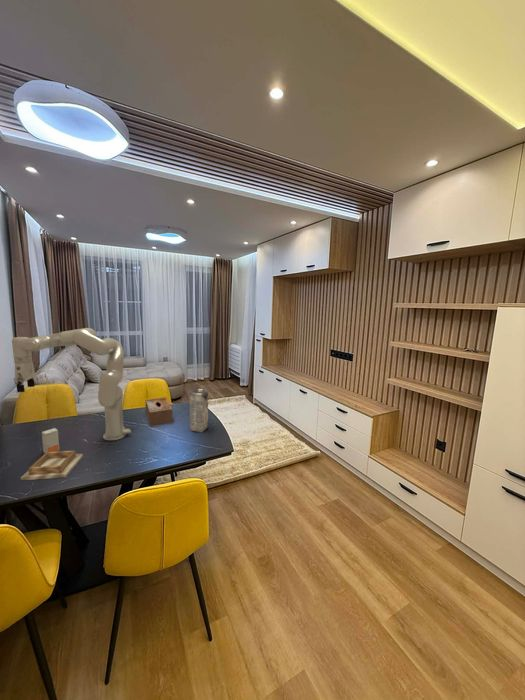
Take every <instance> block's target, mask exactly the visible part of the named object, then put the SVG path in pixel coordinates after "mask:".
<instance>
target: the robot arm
mask: <svg viewBox="0 0 525 700" xmlns="http://www.w3.org/2000/svg"><path fill="white" fill-rule="evenodd" d="M11 345H12V347H11V348H12V355H13V363H14V378H13V381H14V383H15V386H16V392H17V393H25V384H24V382H25V381H26V383H27V384H26V385H27V388H28V387H29V388H33V387H35V377H36V372H35V366H34V362H33V356H32V354H33V353H32V352H39V351H43V350H45V349H50V348H55V347H56V348H57V347H61V346H62V347H63V346H64V347H73V346H80V347H82V348H84V349H86V350H88V351H89V352H91V353H93V354H95V355H96V356H97V355H98V356H106V355H107V356H108V357H107V362H106V369H105V370H106V371H105V372H104V373H102V375H101V376H100V377H99V381H98V391H97V399H98V400H97V401H98V403H99V405H100V406H102V407H103V408H104V419H105V420H104V422H105V423H104V424H105V432H104V433H103V435H102V438H103V440H106V441H116V440H120V439H122V438H124V437H126V436H127V434H131V433H132V430H131V429H130V428H126V427H125V426H124V414H123V413H124V412H123V411H124V410H123V409H124V408H123V401H124V400H123V398H124V393H123V389H122V388H121V387H120V386H119V384H120V383H121V382H122V380H123V377H124V376H123V375H124V361H125V360H124V359H125V351H124V347H123V345H122V344H121V343H120V342H119V341H118V340H116V339H114V338H112V337H107V338H106V337H105V338H102V339H101V338H99V337H97V332H96V331H95V330H94V329H93V328H91V327H84V328H78V329H72V330H71V329H70V330H65V331H60V332H58V333H57V332H56V333H52V334H50V333H49V334H45V335H38V336H34V337H28V336H17V337H16V336H15V337H13V338H12V339H11Z"/></svg>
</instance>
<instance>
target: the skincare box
mask: <svg viewBox="0 0 525 700" xmlns="http://www.w3.org/2000/svg"><path fill="white" fill-rule="evenodd" d="M41 437H42V450H43V454H45V453H46V452H58V451H60V440H59V430H58V429H57V428H56V427H54V428H51V429H47V430H44V431H41Z"/></svg>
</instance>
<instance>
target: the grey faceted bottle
mask: <svg viewBox="0 0 525 700" xmlns="http://www.w3.org/2000/svg"><path fill="white" fill-rule="evenodd" d="M208 426H209V392H208V391H205V390H204V389H203V388H198V389H195V390H192V391H191V392H189V430H190V431H192V432H195V433H196V432H197V433H203V432H205V431H206V430H207V429H208Z"/></svg>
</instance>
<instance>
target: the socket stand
mask: <svg viewBox="0 0 525 700" xmlns="http://www.w3.org/2000/svg"><path fill="white" fill-rule="evenodd" d="M83 457H84V454H83V453H77V450H63V451H62V450H59V451H56V452H46V453H43V455H42V456H41V457H40V458H38V459H37V460H36V461H35V462H34V463H33V464H32V465H31V466H30V467H29V468H28V470H27V471H26V472H25V473H24V474H23V475H22V476H20V481H32V480H35V481H36V480H47V479H59V478H66V477H67V476H68V475H69V474H70V473H71V471H72V470H74V468H75V466H77V464H78V463H79V461H80V460H81V459H82V458H83Z"/></svg>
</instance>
